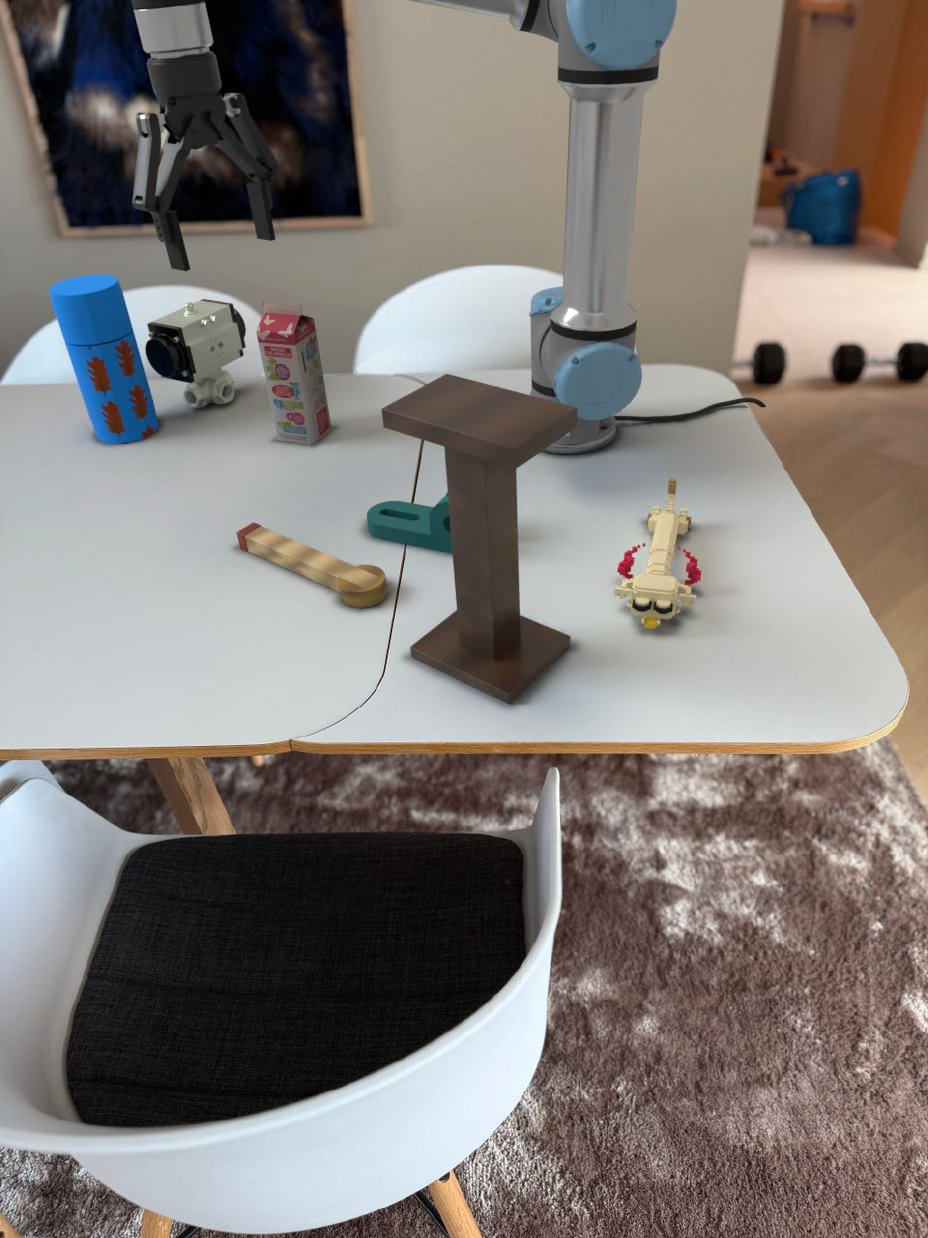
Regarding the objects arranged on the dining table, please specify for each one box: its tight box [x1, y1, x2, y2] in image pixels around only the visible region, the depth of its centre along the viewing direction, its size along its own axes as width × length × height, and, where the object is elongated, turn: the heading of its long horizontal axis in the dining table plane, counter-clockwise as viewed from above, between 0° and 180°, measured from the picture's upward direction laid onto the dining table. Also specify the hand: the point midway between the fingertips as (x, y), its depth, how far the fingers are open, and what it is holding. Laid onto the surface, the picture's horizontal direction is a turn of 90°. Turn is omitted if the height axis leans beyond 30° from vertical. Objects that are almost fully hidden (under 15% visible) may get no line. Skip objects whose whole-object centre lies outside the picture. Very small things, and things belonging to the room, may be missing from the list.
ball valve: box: [144, 298, 247, 409], centre depth 162 cm, size 18×8×18 cm, turn 149°
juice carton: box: [255, 301, 332, 446], centre depth 147 cm, size 7×7×22 cm
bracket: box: [366, 491, 453, 555], centre depth 124 cm, size 18×7×8 cm, turn 65°
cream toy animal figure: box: [614, 477, 702, 630], centre depth 112 cm, size 10×9×25 cm
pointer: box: [236, 521, 388, 609], centre depth 120 cm, size 25×6×3 cm, turn 52°
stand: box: [380, 373, 578, 705], centre depth 96 cm, size 16×12×30 cm
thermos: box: [48, 274, 159, 445], centre depth 152 cm, size 11×11×25 cm
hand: (225, 253), depth 113 cm, fingers open, 13 cm apart
